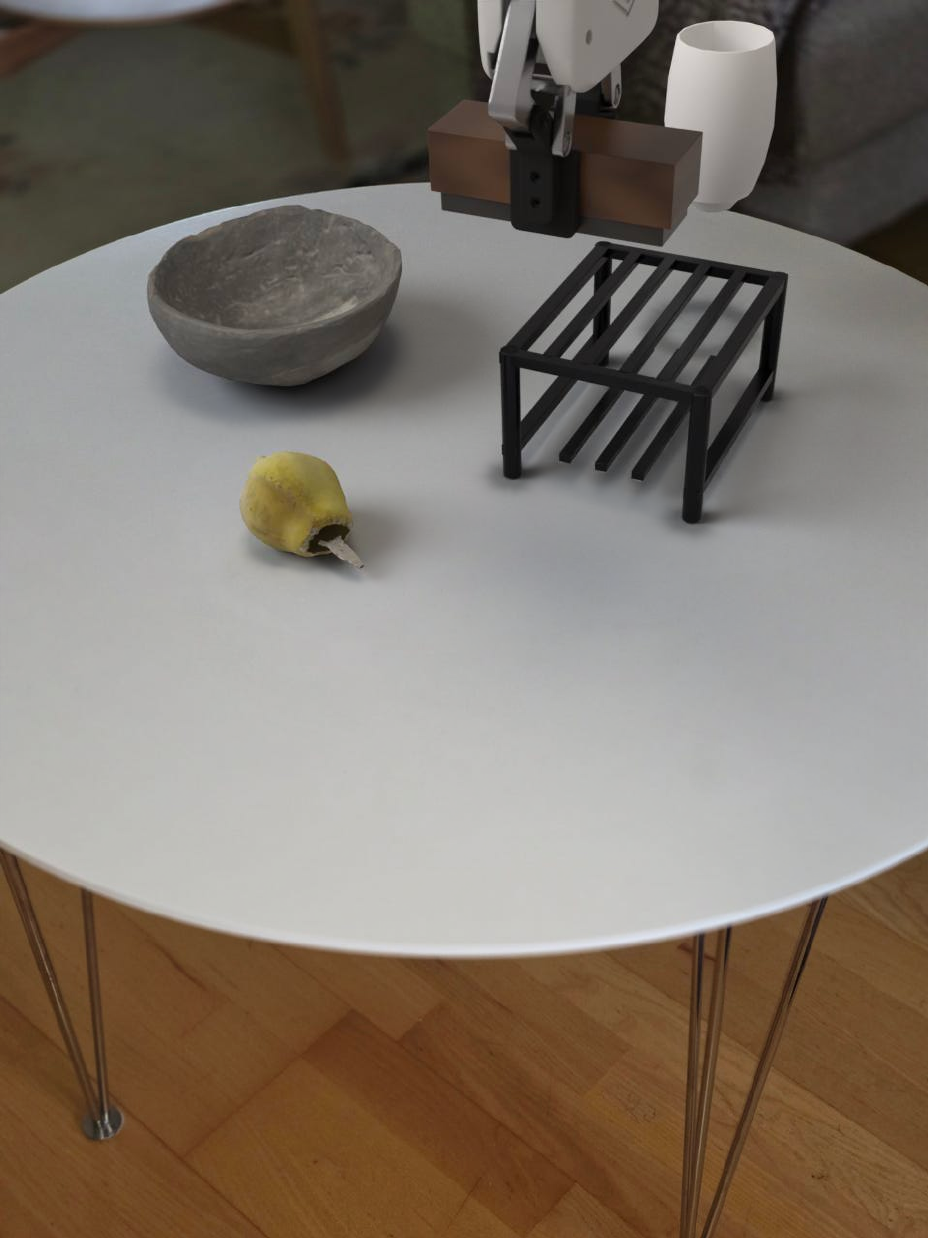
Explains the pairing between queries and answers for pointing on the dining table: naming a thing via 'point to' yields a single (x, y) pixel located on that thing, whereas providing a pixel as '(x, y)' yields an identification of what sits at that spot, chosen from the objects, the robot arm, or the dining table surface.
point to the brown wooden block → (609, 172)
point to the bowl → (275, 294)
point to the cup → (724, 104)
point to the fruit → (297, 506)
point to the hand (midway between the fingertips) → (564, 206)
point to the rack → (604, 337)
